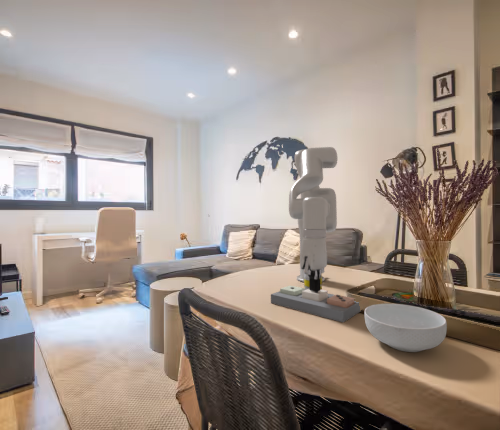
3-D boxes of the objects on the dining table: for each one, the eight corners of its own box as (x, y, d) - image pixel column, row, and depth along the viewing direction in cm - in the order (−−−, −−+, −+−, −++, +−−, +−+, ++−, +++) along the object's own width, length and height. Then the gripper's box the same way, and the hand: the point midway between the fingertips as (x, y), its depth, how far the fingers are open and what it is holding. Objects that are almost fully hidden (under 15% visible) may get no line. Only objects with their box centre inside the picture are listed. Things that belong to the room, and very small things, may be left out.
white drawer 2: (311, 299, 97) (311, 286, 97) (327, 302, 92) (327, 289, 92) (302, 303, 92) (302, 290, 92) (318, 307, 88) (318, 293, 88)
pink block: (336, 307, 90) (336, 293, 90) (354, 311, 86) (354, 297, 86) (327, 311, 86) (327, 297, 86) (345, 316, 82) (345, 301, 82)
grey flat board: (294, 294, 106) (294, 286, 106) (362, 309, 88) (362, 300, 88) (270, 302, 96) (270, 294, 96) (343, 322, 78) (343, 311, 78)
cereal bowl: (384, 324, 77) (384, 298, 77) (457, 346, 64) (457, 315, 64) (350, 342, 66) (350, 312, 66) (429, 372, 53) (429, 335, 53)
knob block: (290, 296, 103) (290, 284, 103) (304, 299, 99) (304, 287, 99) (280, 299, 98) (280, 287, 98) (294, 303, 94) (294, 290, 94)
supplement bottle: (322, 291, 111) (322, 258, 111) (321, 295, 104) (320, 261, 104) (305, 289, 113) (305, 257, 113) (303, 294, 107) (302, 260, 107)
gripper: (315, 233, 100) (316, 284, 100) (291, 235, 89) (292, 292, 89) (335, 234, 95) (336, 288, 95) (312, 236, 84) (313, 297, 84)
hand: (314, 290), depth 92 cm, fingers closed
